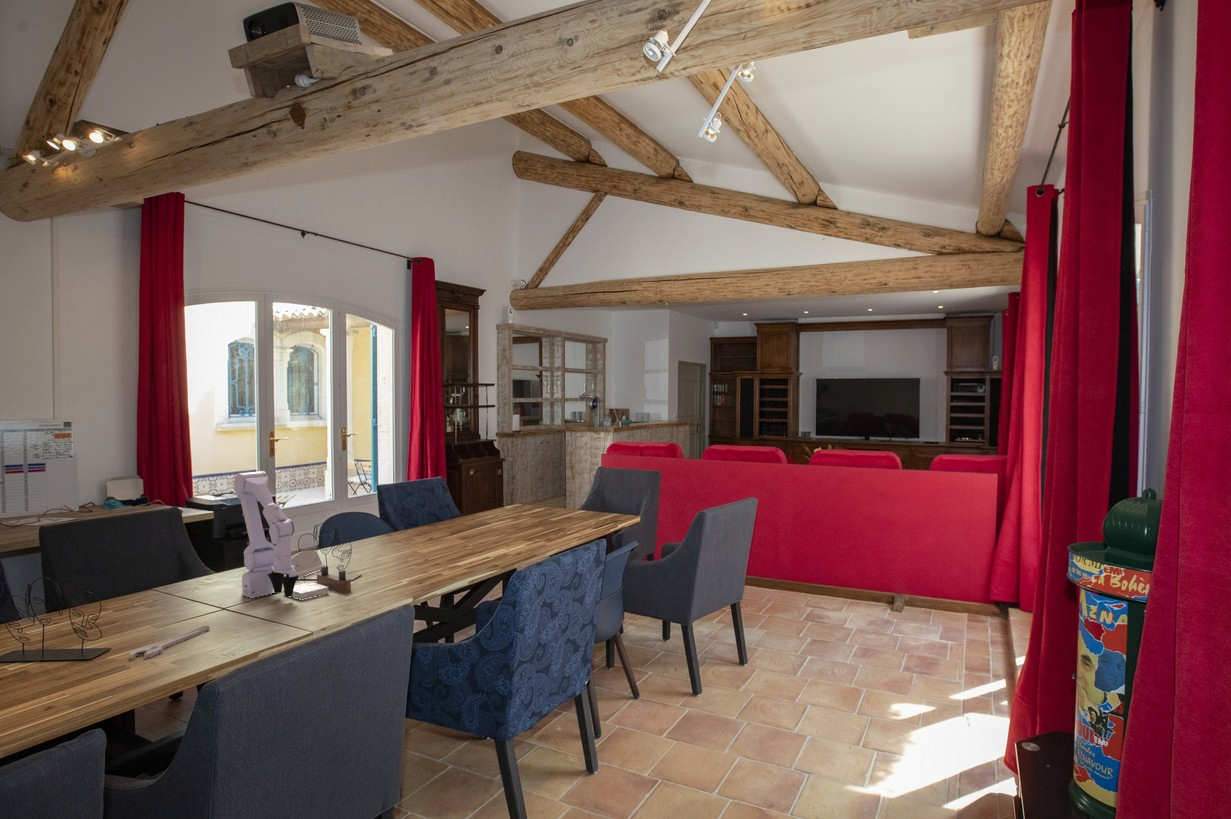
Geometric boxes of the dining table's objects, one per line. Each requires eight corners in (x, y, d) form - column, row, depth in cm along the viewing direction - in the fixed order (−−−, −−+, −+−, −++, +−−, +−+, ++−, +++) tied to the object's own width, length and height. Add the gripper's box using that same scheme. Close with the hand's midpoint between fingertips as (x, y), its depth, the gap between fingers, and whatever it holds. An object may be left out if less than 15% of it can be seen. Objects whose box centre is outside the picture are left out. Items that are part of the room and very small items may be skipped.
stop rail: (343, 592, 252) (342, 573, 252) (317, 585, 264) (316, 566, 263) (350, 590, 255) (350, 571, 255) (324, 583, 266) (324, 564, 266)
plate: (301, 602, 243) (300, 593, 243) (284, 596, 251) (283, 587, 251) (328, 595, 251) (328, 587, 251) (311, 590, 259) (310, 581, 259)
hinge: (297, 579, 272) (290, 554, 273) (288, 582, 274) (280, 558, 275) (327, 569, 289) (319, 545, 289) (317, 572, 290) (310, 549, 291)
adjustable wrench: (204, 630, 215) (204, 624, 215) (221, 632, 213) (221, 626, 213) (126, 659, 191) (125, 652, 191) (143, 661, 189) (143, 655, 189)
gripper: (304, 555, 243) (305, 595, 243) (283, 550, 252) (284, 588, 252) (283, 559, 237) (284, 599, 238) (263, 554, 246) (264, 593, 247)
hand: (283, 594), depth 244 cm, fingers open, 7 cm apart
